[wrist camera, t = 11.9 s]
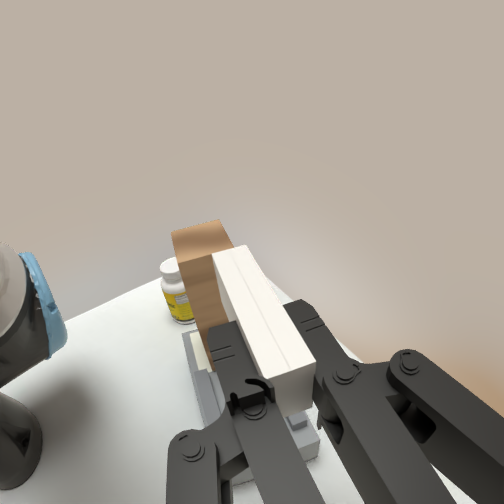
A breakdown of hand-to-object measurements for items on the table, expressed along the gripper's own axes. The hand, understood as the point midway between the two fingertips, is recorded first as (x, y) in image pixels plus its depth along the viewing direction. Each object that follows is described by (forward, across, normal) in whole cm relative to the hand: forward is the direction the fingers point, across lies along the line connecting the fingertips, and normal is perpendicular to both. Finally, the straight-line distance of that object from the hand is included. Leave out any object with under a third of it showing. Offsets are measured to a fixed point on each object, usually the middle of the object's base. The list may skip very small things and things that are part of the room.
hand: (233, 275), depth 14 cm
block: (+15, 0, -21) cm, 26 cm away
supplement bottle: (+28, -4, -27) cm, 40 cm away
